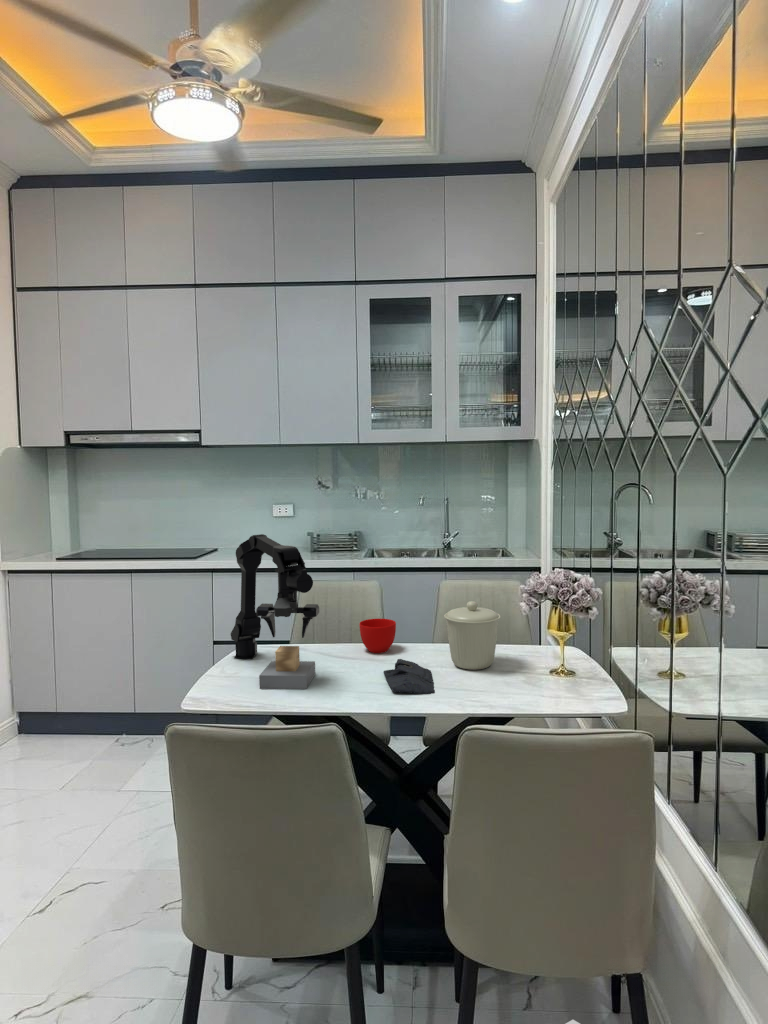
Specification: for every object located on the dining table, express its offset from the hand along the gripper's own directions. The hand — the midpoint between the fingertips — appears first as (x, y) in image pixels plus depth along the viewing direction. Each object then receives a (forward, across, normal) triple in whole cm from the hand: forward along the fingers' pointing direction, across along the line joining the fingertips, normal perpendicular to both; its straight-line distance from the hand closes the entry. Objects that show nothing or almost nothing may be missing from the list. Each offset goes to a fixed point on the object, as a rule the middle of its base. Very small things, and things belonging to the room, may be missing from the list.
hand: (288, 637), depth 195 cm
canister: (+12, +57, +14) cm, 60 cm away
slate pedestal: (+13, +1, -4) cm, 13 cm away
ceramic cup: (+13, +24, +32) cm, 42 cm away
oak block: (+9, 0, -4) cm, 9 cm away
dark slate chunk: (+13, +38, -3) cm, 40 cm away
